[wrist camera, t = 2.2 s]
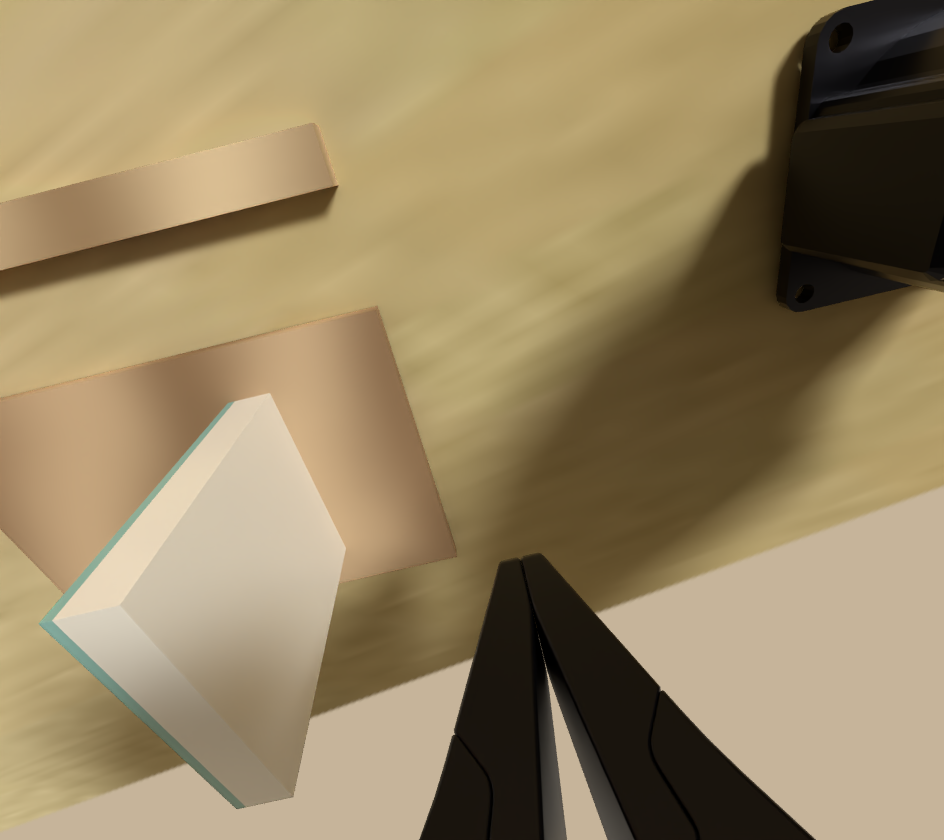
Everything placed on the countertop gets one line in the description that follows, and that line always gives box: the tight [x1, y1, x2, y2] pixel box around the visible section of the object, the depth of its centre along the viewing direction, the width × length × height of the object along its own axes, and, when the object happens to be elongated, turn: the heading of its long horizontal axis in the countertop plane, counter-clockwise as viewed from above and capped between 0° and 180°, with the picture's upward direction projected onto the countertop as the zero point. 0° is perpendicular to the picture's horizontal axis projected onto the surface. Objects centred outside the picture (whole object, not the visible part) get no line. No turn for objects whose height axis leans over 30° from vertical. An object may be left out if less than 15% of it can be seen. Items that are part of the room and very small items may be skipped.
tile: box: [39, 393, 346, 809], centre depth 11 cm, size 1×6×7 cm, turn 12°
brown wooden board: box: [0, 306, 457, 594], centre depth 14 cm, size 13×9×1 cm
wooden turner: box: [0, 123, 338, 271], centre depth 10 cm, size 15×3×1 cm, turn 103°
